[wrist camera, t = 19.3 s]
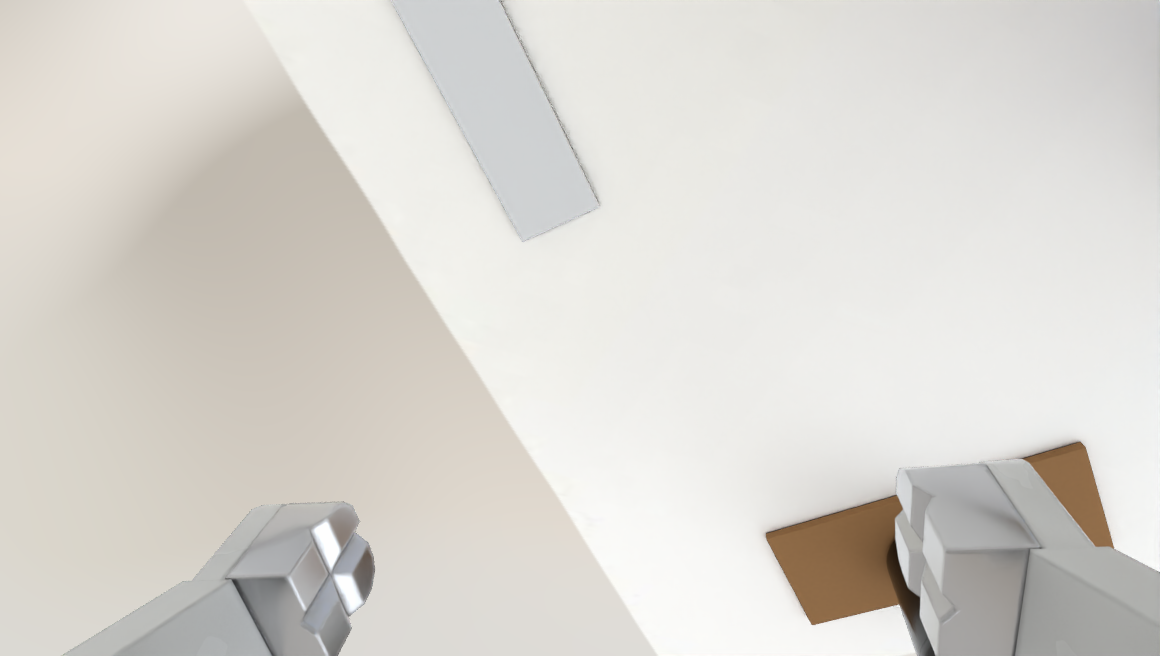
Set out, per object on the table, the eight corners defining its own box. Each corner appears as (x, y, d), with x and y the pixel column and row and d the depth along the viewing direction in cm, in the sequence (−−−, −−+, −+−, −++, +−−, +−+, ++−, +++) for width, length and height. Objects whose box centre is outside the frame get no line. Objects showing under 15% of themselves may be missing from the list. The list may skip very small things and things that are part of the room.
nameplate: (392, -220, 30) (307, -158, 32) (390, -223, 30) (303, -160, 31) (599, 205, 38) (523, 240, 39) (599, 206, 37) (522, 242, 39)
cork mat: (1080, 441, 40) (1085, 447, 40) (1110, 545, 43) (1115, 552, 43) (765, 533, 47) (766, 539, 46) (810, 618, 50) (811, 625, 49)
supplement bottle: (933, 498, 43) (1019, 663, 32) (1015, 546, 44) (1126, 723, 33) (860, 561, 46) (917, 731, 35) (939, 605, 47) (1017, 784, 36)
